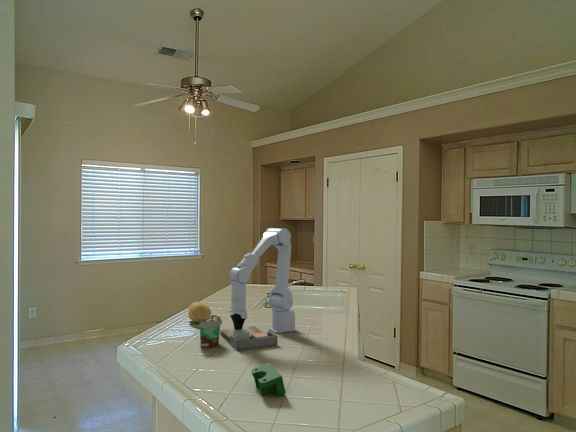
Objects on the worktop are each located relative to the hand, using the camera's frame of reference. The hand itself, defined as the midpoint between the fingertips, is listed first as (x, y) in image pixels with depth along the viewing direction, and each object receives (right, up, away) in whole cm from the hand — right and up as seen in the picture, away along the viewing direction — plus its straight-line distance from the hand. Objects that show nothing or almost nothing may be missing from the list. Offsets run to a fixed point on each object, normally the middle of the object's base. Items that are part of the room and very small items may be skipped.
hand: (238, 332), depth 166 cm
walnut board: (+2, -3, +5) cm, 6 cm away
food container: (-9, -3, -6) cm, 11 cm away
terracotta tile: (+9, -3, -2) cm, 9 cm away
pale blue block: (+1, -1, -3) cm, 4 cm away
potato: (-21, -3, +28) cm, 35 cm away
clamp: (+14, -3, -47) cm, 49 cm away
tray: (+7, -3, -5) cm, 9 cm away
